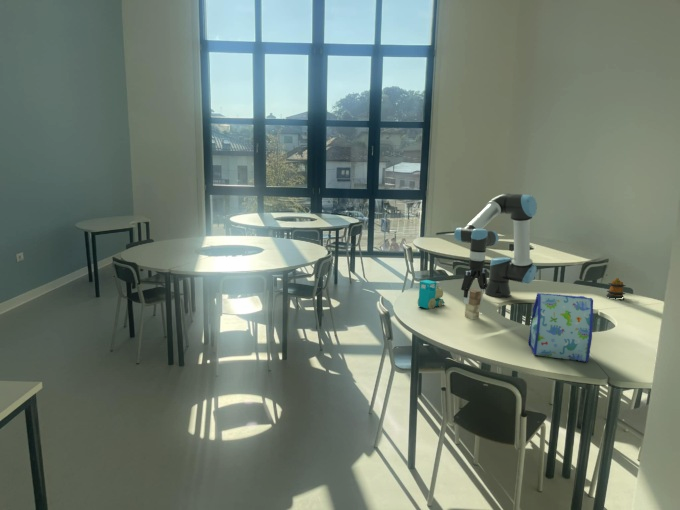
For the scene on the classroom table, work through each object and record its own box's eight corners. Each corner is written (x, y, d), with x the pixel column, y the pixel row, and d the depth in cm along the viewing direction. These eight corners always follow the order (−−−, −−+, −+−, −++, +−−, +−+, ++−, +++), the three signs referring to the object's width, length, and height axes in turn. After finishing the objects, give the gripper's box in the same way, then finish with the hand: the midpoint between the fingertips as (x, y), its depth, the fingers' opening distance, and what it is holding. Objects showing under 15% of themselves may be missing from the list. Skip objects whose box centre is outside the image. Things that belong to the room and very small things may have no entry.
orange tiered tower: (624, 301, 287) (627, 282, 285) (605, 298, 292) (608, 280, 290) (623, 296, 299) (626, 278, 296) (605, 293, 303) (608, 276, 301)
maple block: (471, 314, 246) (472, 302, 244) (478, 317, 242) (480, 304, 240) (464, 316, 243) (465, 303, 242) (472, 319, 239) (473, 305, 238)
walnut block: (472, 301, 244) (473, 288, 243) (479, 304, 240) (481, 291, 239) (465, 303, 242) (466, 290, 240) (473, 305, 238) (474, 292, 236)
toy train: (445, 305, 266) (448, 279, 263) (428, 310, 255) (430, 284, 252) (434, 301, 272) (436, 276, 269) (416, 307, 260) (418, 281, 257)
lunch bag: (579, 349, 207) (587, 292, 202) (590, 364, 191) (599, 303, 186) (526, 343, 212) (532, 287, 206) (533, 358, 196) (540, 297, 191)
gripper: (485, 256, 246) (481, 297, 250) (456, 259, 234) (452, 303, 238) (497, 259, 239) (493, 301, 244) (467, 262, 227) (463, 307, 232)
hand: (473, 302), depth 241 cm, fingers open, 9 cm apart
